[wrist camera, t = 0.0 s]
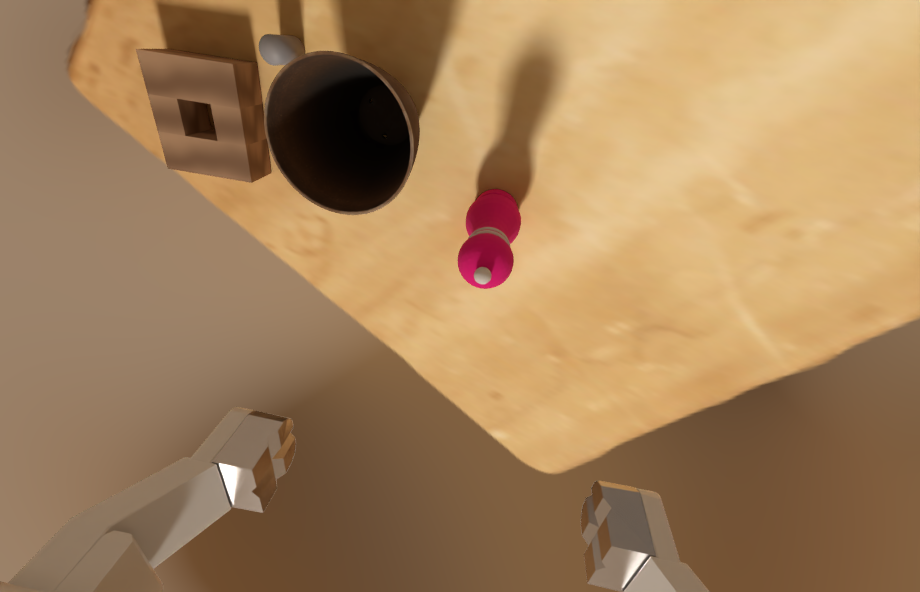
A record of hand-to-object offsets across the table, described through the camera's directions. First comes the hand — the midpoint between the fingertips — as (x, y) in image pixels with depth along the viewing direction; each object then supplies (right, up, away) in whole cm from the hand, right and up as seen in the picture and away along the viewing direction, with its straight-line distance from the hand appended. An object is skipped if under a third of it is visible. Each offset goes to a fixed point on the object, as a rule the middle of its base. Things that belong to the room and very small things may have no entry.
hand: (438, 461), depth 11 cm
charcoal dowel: (-20, +35, +39) cm, 56 cm away
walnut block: (-32, +29, +44) cm, 62 cm away
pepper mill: (+6, +17, +46) cm, 49 cm away
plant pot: (-9, +28, +42) cm, 51 cm away
